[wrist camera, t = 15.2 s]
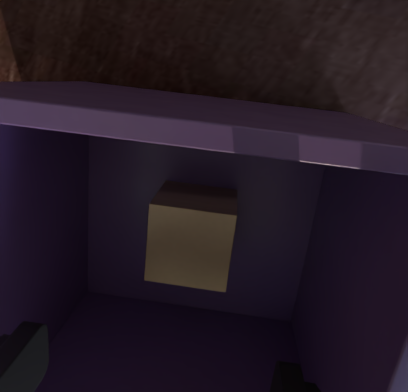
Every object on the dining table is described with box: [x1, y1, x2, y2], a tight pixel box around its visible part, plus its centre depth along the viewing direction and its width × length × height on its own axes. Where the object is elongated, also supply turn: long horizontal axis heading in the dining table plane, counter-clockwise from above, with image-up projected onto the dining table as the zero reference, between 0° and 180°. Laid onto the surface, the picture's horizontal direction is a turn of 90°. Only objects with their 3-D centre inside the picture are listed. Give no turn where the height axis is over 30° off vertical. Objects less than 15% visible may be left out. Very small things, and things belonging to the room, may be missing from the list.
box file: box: [0, 81, 408, 392], centre depth 19 cm, size 18×17×14 cm
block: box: [144, 180, 237, 292], centre depth 23 cm, size 5×5×5 cm
